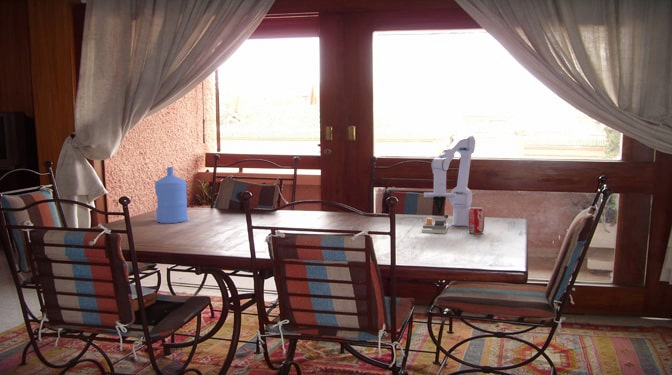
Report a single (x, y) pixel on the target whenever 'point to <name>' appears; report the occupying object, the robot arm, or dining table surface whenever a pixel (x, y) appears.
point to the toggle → (445, 217)
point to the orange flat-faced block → (429, 221)
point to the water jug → (171, 198)
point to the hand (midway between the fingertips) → (439, 212)
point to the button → (439, 222)
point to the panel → (435, 228)
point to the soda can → (476, 220)
